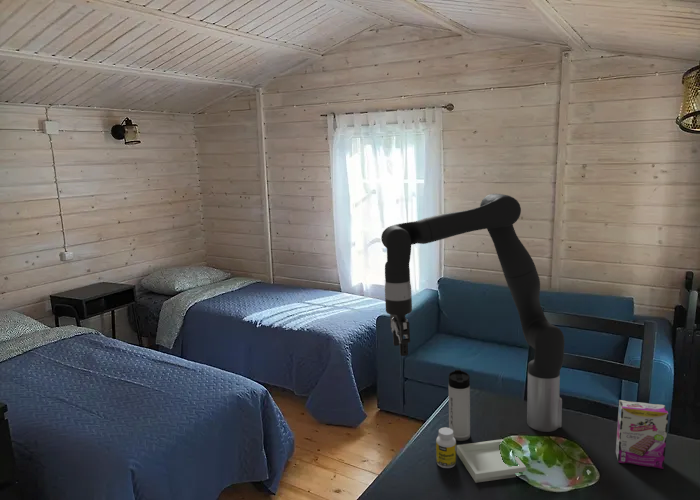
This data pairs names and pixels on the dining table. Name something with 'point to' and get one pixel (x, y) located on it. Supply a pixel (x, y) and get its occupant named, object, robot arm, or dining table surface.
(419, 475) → the dining table surface
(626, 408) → the candy bar box
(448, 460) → the supplement bottle
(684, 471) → the dining table surface
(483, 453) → the tray
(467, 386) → the travel mug
